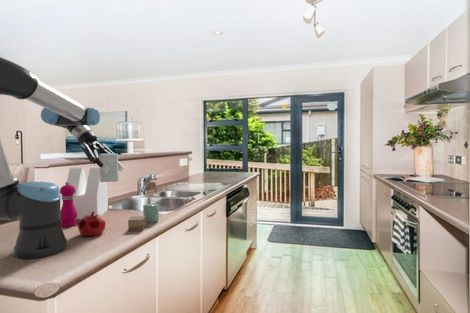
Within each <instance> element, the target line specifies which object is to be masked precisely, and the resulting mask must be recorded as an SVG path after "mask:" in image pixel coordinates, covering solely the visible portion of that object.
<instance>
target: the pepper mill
mask: <svg viewBox="0 0 470 313" xmlns="http://www.w3.org/2000/svg"><path fill="white" fill-rule="evenodd" d="M64 183H65V184H64V185H62V186H61V187H60V188H59V190H60V196H61V200H62V205H61V208H60V215H61V228H70V227H75V226H77V219H76V217H77V211H76V209H75V207H74V204H73V199H74V195H73V194H74V193H75V188H74V186H72V185H69V184H70V183H69V182H67V181H66V182H64Z"/></svg>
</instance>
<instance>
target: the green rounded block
mask: <svg viewBox="0 0 470 313" xmlns="http://www.w3.org/2000/svg"><path fill="white" fill-rule="evenodd" d="M142 208H143V210H142V213H143V215H142V216H146V223H153V224H156V223H155V222H157V223H159V222H160V219H159V217H160V212H159V204H158V203H145V204H143V206H142ZM158 221H159V222H158Z"/></svg>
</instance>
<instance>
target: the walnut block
mask: <svg viewBox="0 0 470 313" xmlns="http://www.w3.org/2000/svg"><path fill="white" fill-rule="evenodd" d="M127 226H128V228H127V230H128V232H144V230H145V229H146V228H147V224H146V216H143V215H139V216H138V215H136V216H135V215H134V216H131V217H129V219H128V220H127ZM144 228H145V229H144ZM141 230H142V231H141Z"/></svg>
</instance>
